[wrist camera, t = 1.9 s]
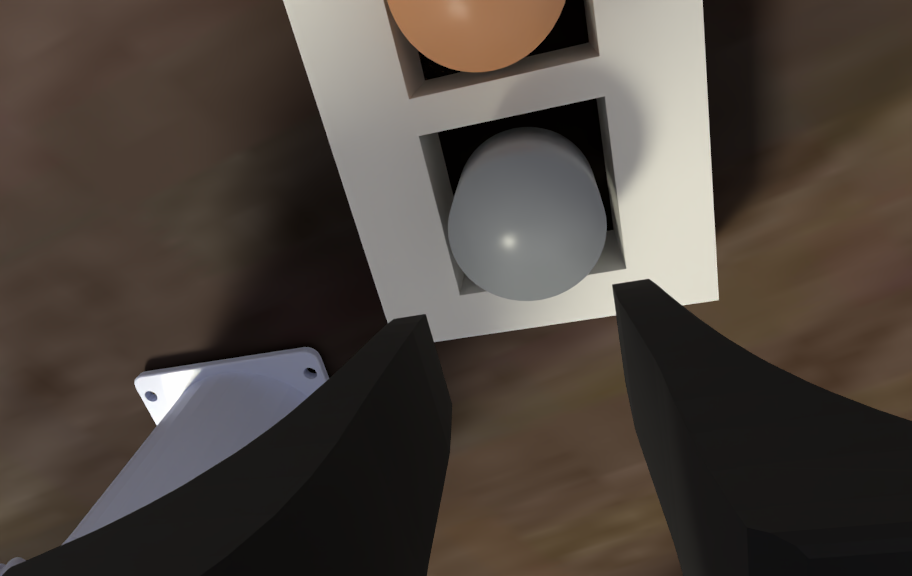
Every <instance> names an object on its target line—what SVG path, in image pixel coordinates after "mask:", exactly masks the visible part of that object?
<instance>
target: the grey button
mask: <svg viewBox="0 0 912 576" xmlns="http://www.w3.org/2000/svg"><path fill="white" fill-rule="evenodd" d="M606 231H607V222H606V214H605V209H604V206H603V203H602V200H601V196H600V193H599V190H598V187H597V184H596V181H595V178H594V175H593V172H592V169H591V166H590V164H589V162H588V161H587V159H586V157H585V156H584V154H583V153H582V152H581V150H580V149H579V148H578V147H577V146H576V145H575V144H574V143H572V142H571V141H570V140H568V139H567V138H565V137H564V136H562V135H560V134H558V133H556V132H553V131H551V130H547V129H543V128H537V127H519V128H512V129H509V130H505V131H503V132H500V133H498V134H495V135H494V136H492V137H490V138H489V139H487V140H486V141H485V142H483V143H482V144H481V145H480V146H479V147H478V148H477V149H476V150H475V151H474V152H473V153H472V155H471V156H470V157H469V159H468V160H467V162H466V164H465V166H464V168H463V171H462V173H461V176H460V179H459V183H458V186H457V189H456V193H455V196H454V199H453V203H452V206H451V210H450V214H449V220H448V238H449V243H450V247H451V250H452V253H453V256H454V258H455V260H456V262H457V263H458V265H459V266H460V268H461V269H462V271H463V272H464V273H465V274H466V275H467V277H468V278H469V279H471V280H472V281H473V282H474V283H475V284H476V285H478V286H479V287H481V288H482V289H484V290H486V291H488V292H489V293H491V294H494V295H496V296H499V297H502V298H506V299H510V300H517V301H535V300H542V299H547V298H551V297H554V296H557V295H559V294H561V293H563V292H565V291H568V290H569V289H571V288H572V287H574V286H575V285H577V284H578V283H579V282H580V281H582V280H583V279H584V278H585V277H586V276H587V275H588V274H589V273H590V271H591V270H592V269H593V267H594V266H595V265H596V263H597V261H598V259H599V257H600V255H601V253H602V250H603V248H604V244H605V239H606Z"/></svg>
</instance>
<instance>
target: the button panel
mask: <svg viewBox="0 0 912 576" xmlns="http://www.w3.org/2000/svg"><path fill="white" fill-rule="evenodd" d="M283 1H284V5H285V8H286V11H287V14H288V17H289V20H290V23H291V26H292V29H293V32H294V35H295V39H296V42H297V45H298V48H299V51H300V54H301V57H302V60H303V63H304V66H305V69H306V72H307V76H308V79H309V82H310V85H311V88H312V91H313V94H314V97H315V100H316V103H317V106H318V110H319V113H320V116H321V119H322V122H323V125H324V128H325V131H326V134H327V137H328V140H329V144H330V147H331V150H332V153H333V156H334V159H335V162H336V165H337V168H338V171H339V174H340V177H341V181H342V184H343V187H344V190H345V193H346V196H347V199H348V202H349V205H350V208H351V211H352V215H353V218H354V221H355V224H356V227H357V230H358V233H359V236H360V239H361V242H362V245H363V249H364V252H365V255H366V258H367V261H368V264H369V267H370V270H371V273H372V276H373V279H374V283H375V286H376V289H377V292H378V295H379V298H380V301H381V304H382V307H383V310H384V313H385V316H386V320H387V323H389V322H390V321H392V320H393V319H396V318H402V317H409V316H415V315H422V314H426V317H427V320H428V323H429V327H430V330H431V334H432V337H433V341H434V342H439V341H445V340H452V339H459V338H466V337H472V336H479V335H486V334H493V333H499V332H506V331H513V330H520V329H526V328H533V327H540V326H547V325H553V324H560V323H567V322H574V321H580V320H587V319H594V318H600V317H607V316H614V315H616V310H615V303H614V296H613V288H612V284H618V283H625V282H631V281H637V280H644V279H650V280H651V281H653V282H654V283H656V284H657V285H658V286H659V287H660V288H662V289H663V290H664V291H665V292H666V293H667V294H669V295H670V296H671V297H672V298H673V299H675V300H676V301H677V302H678V303H680V304H681V305H688V304H695V303H702V302H708V301H715V300H719V295H718V276H717V258H716V239H715V221H714V202H713V184H712V166H711V147H710V129H709V110H708V92H707V73H706V55H705V36H704V18H703V0H584V7H585V15H586V23H587V30H588V38H589V43H584V44H580V45H576V46H571V47H567V48H563V49H559V50H554V51H550V52H546V53H541V54H537V55H533V56H528V57H524V58H522V59H521V60H519V61H517V62H516V63H513V64H511V65H509V66H507V67H504V68H501V69H498V70H494V71H488V72H472V73H471V72H459V73H455V74H451V75H446V76H442V77H438V78H433V79H429V80H425V78H424V74H423V70H422V66H421V62H420V58H419V54H418V50H417V49H416V48H415V47H414V46H413V45H412V44H411V43H410V42H409V41H408V39H407V38H406V37H405V36H404V34H403V33H402V31H401V30H400V28H399V27H398V25H397V23H396V22H395V19H394V17H393V15H392V13H391V11H390V8H389V5H388V1H387V0H283ZM595 98H596V99H597V107H598V115H599V122H600V130H601V138H602V145H603V153H604V161H605V168H606V176H607V184H608V191H609V199H610V207H611V214H612V222H613V230H610V231H606V239H605V244H604V248H603V250H602V253H601V255H600V257H599V259H598V261H597V263H596V265H595V266H594V267H593V269H592V270H591V271H590V273H589V274H588V275H587V276H586V277H585V278H584V279H583V280H582V281H580V282H579V283H578V284H577V285H575V286H574V287H572V288H571V289H569V290H568V291H565V292H563V293H561V294H559V295H557V296H554V297H551V298H547V299H542V300H535V301H517V300H510V299H506V298H502V297H499V296H496V295H494V294H491V293H489V292H488V291H486V290H484V289H482V288H481V287H479V286H478V285H476V284H475V283H474V282H473V281H472V280H471V279H469V278H468V277H467V275H466V274H465V273H464V272H463V271H462V269H461V268H460V266H459V265H458V263H457V262H456V260H455V258H454V256H453V253H452V250H451V247H450V243H449V238H448V220H449V214H450V210H451V206H452V203H453V199H454V197H453V192H452V188H451V184H450V180H449V176H448V172H447V168H446V164H445V160H444V156H443V152H442V148H441V144H440V139H439V135H438V132H441V131H445V130H450V129H455V128H459V127H464V126H469V125H473V124H478V123H483V122H487V121H492V120H497V119H501V118H506V117H511V116H515V115H520V114H525V113H529V112H534V111H539V110H543V109H548V108H553V107H557V106H562V105H567V104H571V103H576V102H581V101H585V100H590V99H595Z"/></svg>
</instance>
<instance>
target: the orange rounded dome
mask: <svg viewBox="0 0 912 576" xmlns="http://www.w3.org/2000/svg"><path fill="white" fill-rule="evenodd" d="M387 1H388V5H389V8H390V11H391V13H392V15H393V17H394V19H395V22H396V23H397V25H398V27H399V28H400V30H401V31H402V33H403V34H404V36H405V37H406V38H407V39H408V41H409V42H410V43H411V44H412V45H413V46H414V47H415V48H416V49H417V50H418V51H419V52H421V53H422V54H423V55H425V56H426V57H427V58H429V59H431V60H432V61H434V62H436V63H437V64H440V65H442V66H445V67H447V68H450V69H454V70H457V71H463V72H471V73H472V72H488V71H494V70H498V69H501V68H504V67H507V66H509V65H511V64H513V63H516V62H517V61H519V60H521V59H522V58H524V57H526V56H527V55H528V54H529V53H531V52H532V51H533V50H534V49H536V48H537V47H538V46H539V45H540V43H541V42H542V41H543V40H544V39H545V38H546V37H547V35H548V34H549V33H550V31H551V30H552V29H553V27H554V25H555V23H556V22H557V20H558V18H559V16H560V14H561V11H562V9H563V7H564V4H565V1H566V0H387Z"/></svg>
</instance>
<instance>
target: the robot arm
mask: <svg viewBox="0 0 912 576" xmlns="http://www.w3.org/2000/svg"><path fill="white" fill-rule="evenodd" d="M612 288H613V296H614V303H615V310H616V317H617V325H618V332H619V339H620V346H621V354H622V361H623V368H624V376H625V383H626V387H627V392H628V397H629V402H630V407H631V411H632V416H633V421H634V425H635V430H636V433H637V436H638V439H639V442H640V445H641V448H642V451H643V454H644V457H645V460H646V463H647V466H648V469H649V472H650V475H651V478H652V480H653V483H654V486H655V489H656V492H657V495H658V498H659V501H660V504H661V507H662V510H663V513H664V515H665V518H666V521H667V524H668V527H669V530H670V533H671V536H672V539H673V542H674V545H675V548H676V552H677V555H678V558H679V562H680V565H681V569H682V572H683V576H912V421H910V420H907V419H904V418H901V417H898V416H895V415H892V414H889V413H886V412H883V411H880V410H877V409H874V408H872V407H869V406H866V405H864V404H861V403H859V402H856V401H853V400H851V399H848V398H846V397H843V396H840V395H838V394H835V393H833V392H830V391H828V390H825V389H823V388H821V387H818V386H816V385H814V384H812V383H809V382H807V381H805V380H803V379H801V378H799V377H797V376H795V375H793V374H791V373H789V372H787V371H785V370H782V369H780V368H778V367H776V366H774V365H772V364H770V363H768V362H767V361H765V360H763V359H761V358H759V357H757V356H756V355H754V354H752V353H750V352H749V351H747V350H746V349H744V348H742V347H741V346H739V345H737V344H736V343H734V342H732V341H731V340H729V339H727V338H726V337H724V336H723V335H721V334H720V333H718V332H717V331H716V330H714V329H713V328H712V327H710V326H709V325H707V324H706V323H705V322H703V321H702V320H700V319H699V318H698V317H696V316H695V315H694V314H692V313H691V312H690V311H688V310H687V309H686V308H685V307H683V306H682V305H681V304H680V303H678V302H677V301H676V300H675V299H673V298H672V297H671V296H670V295H669V294H667V293H666V292H665V291H664V290H663V289H662V288H660V287H659V286H658V285H657V284H656V283H654V282H653V281H651V280H650V279H644V280H637V281H631V282H625V283H618V284H612ZM307 368H312V369H314V370H315V371H316V372H317V373H311V372H309V371H308V369H307ZM134 384H135V387H136V389H137V391H138V393H139V394H140V396H141V398H142V400H143V402H144V403H145V405H146V407H147V409H148V411H149V412H150V414H151V416H152V418H153V420H154V421H155V423H156V425H157V426H156V428H155V429H154V430H153V431H152V433H151V434H150V435H149V437H148V438H147V439H146V440H145V442H144V443H143V444H142V445H141V447H140V448H139V449H138V450H137V452H136V453H135V454H134V455H133V457H132V458H131V459H130V461H129V462H128V463H127V464H126V466H125V467H124V468H123V469H122V471H121V472H120V473H119V474H118V476H117V477H116V478H115V479H114V481H113V482H112V483H111V484H110V486H109V487H108V488H107V490H106V491H105V492H104V493H103V495H102V496H101V497H100V498H99V500H98V501H97V502H96V503H95V505H94V506H93V507H92V508H91V510H90V511H89V512H88V513H87V515H86V516H85V517H84V519H83V520H82V521H81V522H80V524H79V525H78V526H77V527H76V529H75V530H74V531H73V532H72V534H71V535H70V536H69V537H68V538H67V539H66V540H65V542H64V543H63V544H62V545H61V546H59V547H57V548H54V549H52V550H50V551H48V552H45V553H43V554H41V555H38V556H36V557H34V558H32V559H29V560H27V561H26V560H24V559H23V558H20V557H16V558H13V559H11V560H10V561H9V562H8V563H7V564H6V565H5V564H2V563H1V564H0V576H427V570H428V564H429V558H430V553H431V548H432V543H433V538H434V533H435V527H436V522H437V517H438V512H439V507H440V502H441V497H442V492H443V486H444V481H445V476H446V470H447V465H448V459H449V454H450V440H451V419H452V403H451V399H450V396H449V392H448V389H447V385H446V382H445V378H444V375H443V372H442V368H441V365H440V361H439V358H438V354H437V351H436V347H435V344H434V341H433V337H432V334H431V330H430V327H429V323H428V320H427V317H426V314H422V315H415V316H409V317H402V318H396V319H393V320H392V321H390V322H389V323H388V324H387V325H385V326H384V327H383V328H382V329H381V330H380V331H379V332H378V333H377V334H375V335H374V336H373V337H372V338H371V339H370V340H369V341H368V342H367V343H366V344H365V345H364V346H363V347H362V348H361V349H360V350H359V351H358V352H357V353H356V354H355V355H354V356H353V357H352V358H350V359H349V360H348V361H347V362H346V363H345V364H344V365H343V366H342V367H341V368H340V369H339V370H338V371H337V372H336V373H335V374H334V375H333V376H332V377H330V378H329V376H328V374H327V371H326V369H325V366H324V363H323V361H322V358H321V356H320V354H319V353H318V352H317V351H316V350H315V349H313V348H310V347H301V348H295V349H288V350H282V351H275V352H269V353H262V354H255V355H249V356H242V357H236V358H229V359H223V360H216V361H210V362H203V363H197V364H190V365H184V366H177V367H170V368H164V369H157V370H151V371H145V372H142V373H141V374H140V375H139V376H138V377H137V378H136V379H135V382H134ZM151 391H152V392H154V393H155V394H156V395H154V394H152V392H151Z"/></svg>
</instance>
